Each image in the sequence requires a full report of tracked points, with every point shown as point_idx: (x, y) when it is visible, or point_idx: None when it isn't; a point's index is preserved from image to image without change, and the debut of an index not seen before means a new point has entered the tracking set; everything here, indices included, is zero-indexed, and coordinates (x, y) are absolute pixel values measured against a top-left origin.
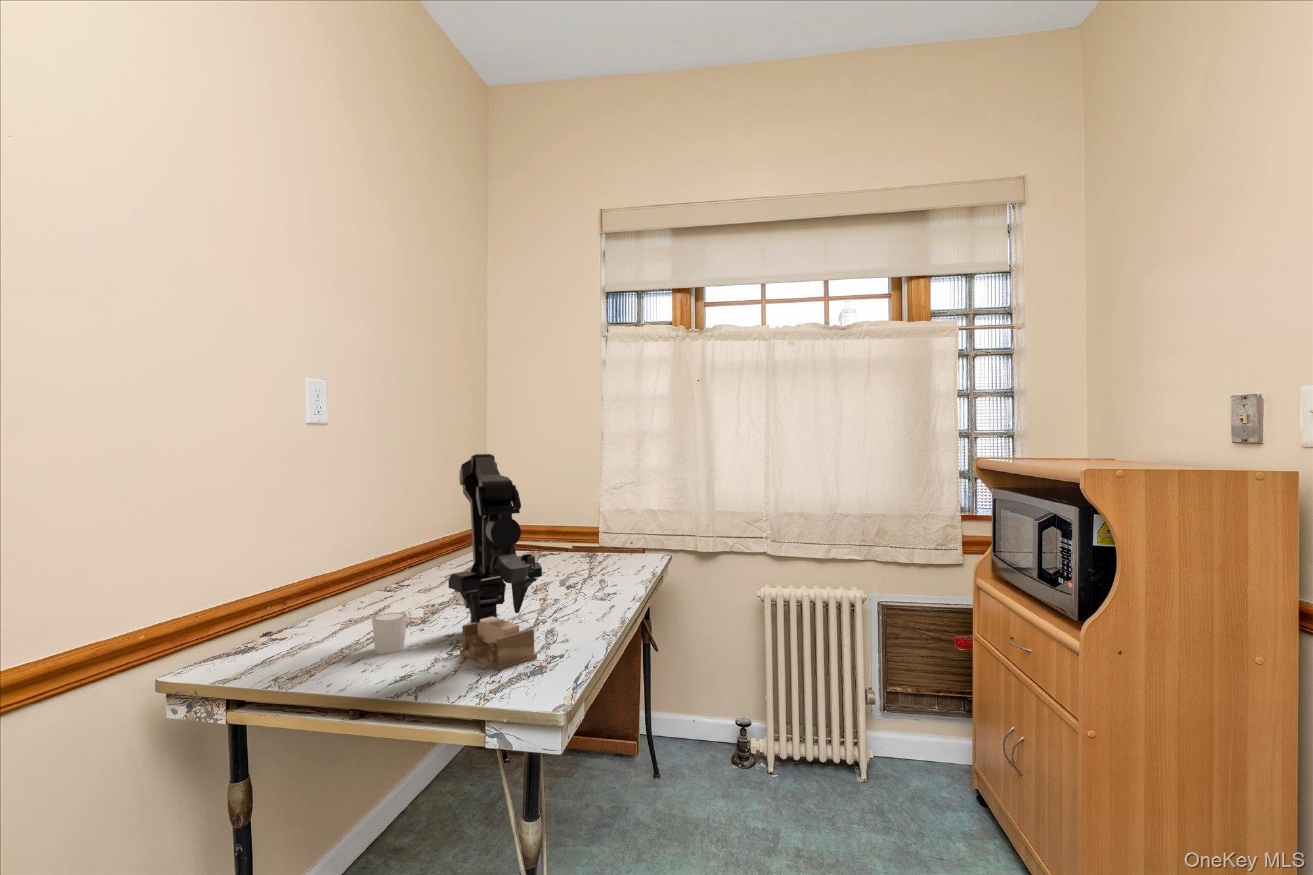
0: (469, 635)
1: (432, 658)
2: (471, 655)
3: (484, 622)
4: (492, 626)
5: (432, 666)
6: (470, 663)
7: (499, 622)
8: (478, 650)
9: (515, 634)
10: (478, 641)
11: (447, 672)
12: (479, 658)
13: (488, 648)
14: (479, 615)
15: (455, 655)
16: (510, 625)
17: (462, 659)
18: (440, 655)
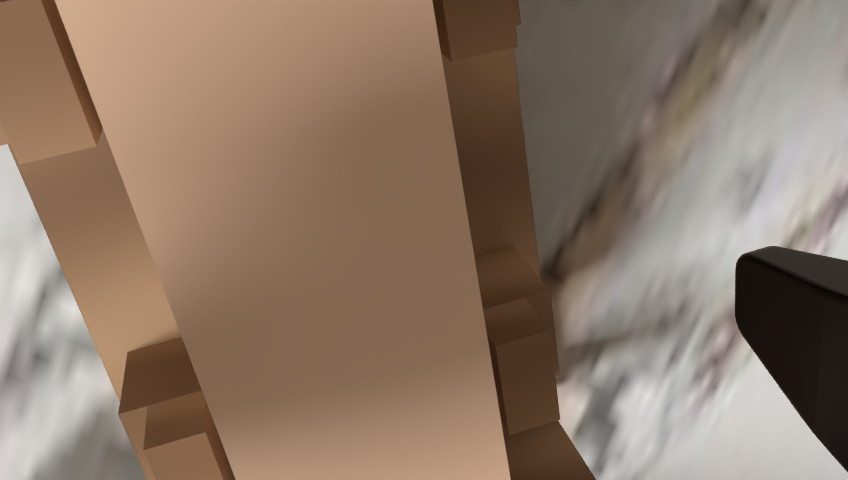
0: (535, 474)
1: (727, 390)
2: (533, 239)
3: (503, 451)
4: (467, 253)
5: (807, 225)
6: (574, 119)
7: (325, 344)
8: None
9: None
10: (503, 313)
11: (803, 13)
12: (518, 103)
13: None
14: (844, 287)
15: (583, 374)
16: (214, 61)
17: (581, 257)
18: (661, 424)
